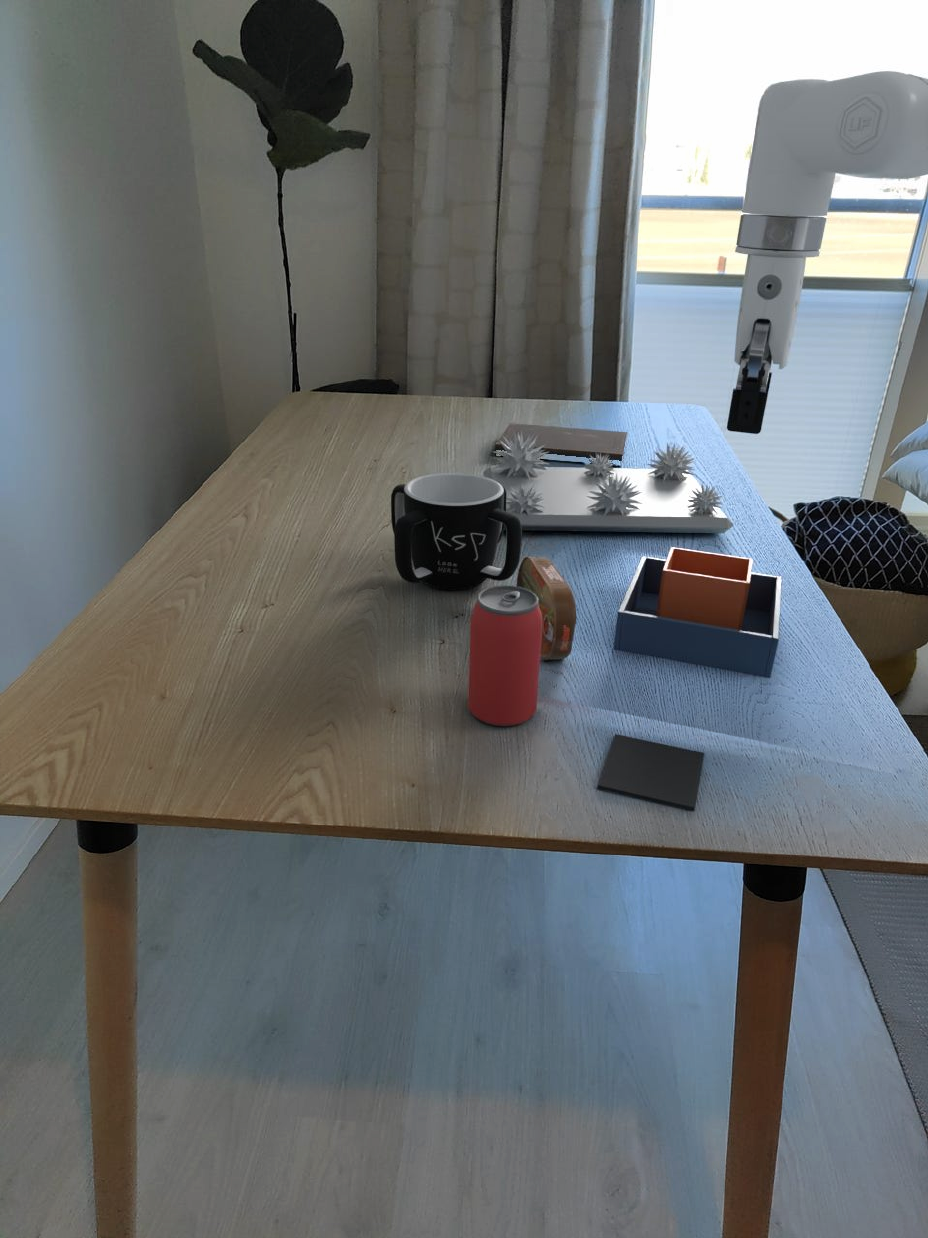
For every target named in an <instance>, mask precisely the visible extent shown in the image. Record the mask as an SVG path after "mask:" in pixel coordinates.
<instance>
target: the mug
mask: <svg viewBox="0 0 928 1238" xmlns="http://www.w3.org/2000/svg"><path fill="white" fill-rule="evenodd" d="M390 517H391V527H392V532H393V535H394V536H393V538H394V539H393V543H394V545H393V546H394V561H395V567H396V570H397V572H398V574H399V576H400V577H401V578H402V580H403V581H405V582H408V583H411V584H419V583H421V582H422V583H424V584H426V585H428V586H430V587H432V588H435V589H436V588H437V589H441V590H450V591H451V590H453V591H457V590H466V589H470V588H474V587H476V586H479V585H481V584H483V583H484V582H485V581H487V579H489V580H493V581H498V582H501V581H506V580H509V579H510V578H511V577H512V576H513V575H514V574H515V573H516V570H517V568H519V567H518V566H519V563H520V560H521V554H522V539H523V536H522V535H523V530H522V526H521V522H520V520H519V518H518V517H517V516H516V515H514V514H511V513H509V512H506V490H505V487H504V486H503V485H501V484H499V483H498V482H496V481H494V480H492V479H489V478H486V477H484V475H479V474H472V473H465V472H464V473H463V472H440V473H431V474H427V475H422V476H419V477H416V478H413V479H412V480H409V481H408V482H407V483H401V484H398V485H396V486H395V487H394V488H393V489H392V492H391V495H390ZM505 526H506V530H504V527H505ZM504 531H506V533H505V534H506V540H505V557H504V563H503V565H502V568H499V567H496V566H494V562H495V559H496V554H497V549H498V547H499V546H498V545H499V543H500V542H501V540H502V537H503V534H504Z"/></svg>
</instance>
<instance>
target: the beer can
mask: <svg viewBox="0 0 928 1238" xmlns="http://www.w3.org/2000/svg"><path fill="white" fill-rule="evenodd" d="M538 603H539V602H538V597H537V596H536V595H535V594H534V593H533V592H531V591H530V590H528V589H525V588H522V587H517V585H510V584H509V585H507V584H502V585H494V586H489V587H486V588H485V589H482V590H481V591H480V592H479V593H478V594H477V596H476V602H475V604H474V606H473V608H472V613H471V615H470V627H469V630H470V631H469V657H468V658H469V660H468V663H469V664H468V693H467V694H468V695H467V698H468V699H467V706H468V710H469V711H470V713H471V715H473V716H474V717H475V718H476V719H477V720H479V721H481V722H483V723H485V724H487V725H490V726H491V725H493V726H496V727H511V726H518V725H520V724H523V723H526V722H527V721H528V720H529V719H531V718H532V717H533V716H534V714H535V713H536V711H537V707H538V696H539V695H538V692H539V678H540V667H541V665H540V664H541V640H542V626H543V622H542V614H541V611H540V608H539V605H538Z"/></svg>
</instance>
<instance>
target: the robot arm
mask: <svg viewBox="0 0 928 1238" xmlns="http://www.w3.org/2000/svg"><path fill="white" fill-rule="evenodd" d="M757 107H758V108H757V113H756V120H755V126H754V131H753V137H752V138H753V139H752V145H751V150H750V156H749V163H748V169H747V175H746V182H745V189H744V194H743V199H742V200H743V201H742V208H741V214H740V219H739V225H738V231H737V237H736V244H735V249H734V250H735V251H734V252H735V253H738V254H742V255H747V258H746V264H745V269H744V275H743V282H742V288H741V295H740V302H739V306H738V307H739V309H738V317H737V323H736V335H735V346H734V362H735V363H736V365H738V366H739V370H738V374H737V379H736V383H735V388H732V393H731V399H730V406H729V412H728V418H727V424H726V429H727V431H729V432H733V433H734V432H735V433H742V434H752V435H759V434H760V433H761V431H762V427H763V422H764V417H765V411H766V407H767V402H768V397H769V391H770V390H769V389H770V386H771V380H772V376H773V372H771V369H772V364H773V365H778V370H783V369H785V368H786V367H787V365H788V361H789V356H790V352H791V351H790V350H791V346H792V341H793V337H794V331H795V326H796V321H797V316H798V310H799V307H800V301H801V296H802V290H803V284H804V278H805V272H806V261H807V258H819V257H820V253H821V247H822V243H823V238H824V233H825V229H826V223H827V218H828V212H829V207H830V203H831V197H832V192H833V188H834V184H835V178H836V175H838V174H839V175H844V176H848V177H854V178H862V179H877V180H878V179H892V180H893V179H894V180H908V179H915V178H920V177H923V176H926V175H928V78H926V77H922V76H918V75H914V74H911V73H910V74H909V73H904V72H900V71H895V70H894V71H892V70H881V71H873V72H869V73H868V72H867V73H863V74H859V75H853V76H850V77H844V78H839V79H833V80H831V79H830V80H829V79H819V78H818V79H817V78H815V79H814V78H812V79H811V78H807V79H805V78H804V79H802V78H800V79H787V80H781V81H777V82H774V83H771V84H770V85H768V86H767V87H766V88H765V90H764V91H763V92H762V94H761V97H760V99H759V104H758V106H757Z"/></svg>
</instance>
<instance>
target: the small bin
mask: <svg viewBox="0 0 928 1238" xmlns="http://www.w3.org/2000/svg"><path fill="white" fill-rule="evenodd" d="M753 564H754V558H752V557H751V558H750V557H743V556H737V555H729V554H724V553H723V554H722V553H716V552H709V551H703V550H702V551H701V550H695V549H687V548H681V547H674V546H671V547H670V548H669V551H668V554H667V556H666V562H665V565H664V568H663V570H662V577H661V585H660V592H659V599H658V606H657V613H656V616H659V617H665V618H671V619H677V620H683V621H689V622H695V623H701V624H707V625H713V626H718V627H724V628H730V629H736V630H741V628H742V623H743V617H744V612H745V607H746V602H747V597H748V591H749V586H750V580H751V573H752V572H753V566H754V565H753Z"/></svg>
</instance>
